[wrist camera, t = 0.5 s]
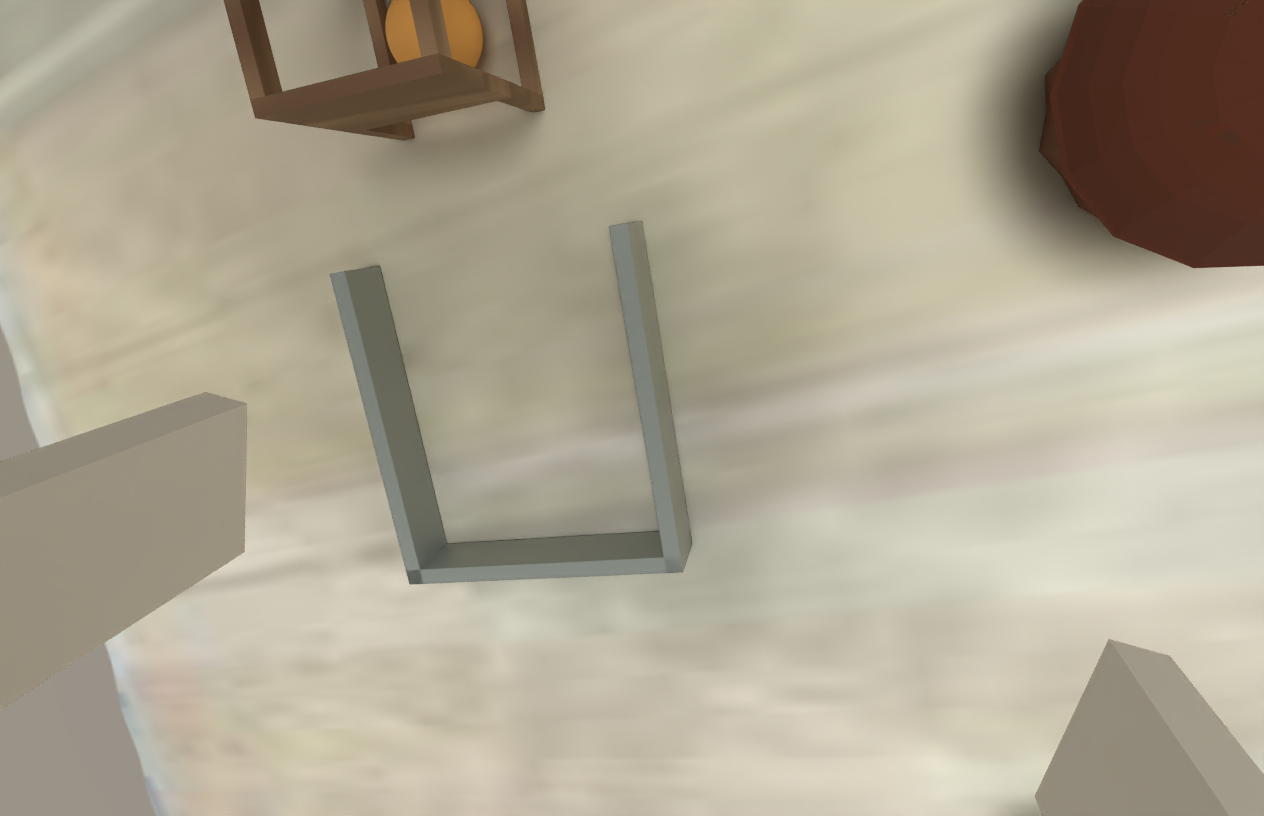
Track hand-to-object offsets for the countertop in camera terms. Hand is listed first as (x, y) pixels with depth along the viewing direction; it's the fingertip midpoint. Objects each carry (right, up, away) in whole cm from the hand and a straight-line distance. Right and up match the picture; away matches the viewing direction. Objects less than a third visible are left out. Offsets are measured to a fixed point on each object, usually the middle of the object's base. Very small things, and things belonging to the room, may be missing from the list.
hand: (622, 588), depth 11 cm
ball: (-8, +19, +20) cm, 29 cm away
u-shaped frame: (-5, +3, +26) cm, 27 cm away
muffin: (+20, +14, +17) cm, 30 cm away
